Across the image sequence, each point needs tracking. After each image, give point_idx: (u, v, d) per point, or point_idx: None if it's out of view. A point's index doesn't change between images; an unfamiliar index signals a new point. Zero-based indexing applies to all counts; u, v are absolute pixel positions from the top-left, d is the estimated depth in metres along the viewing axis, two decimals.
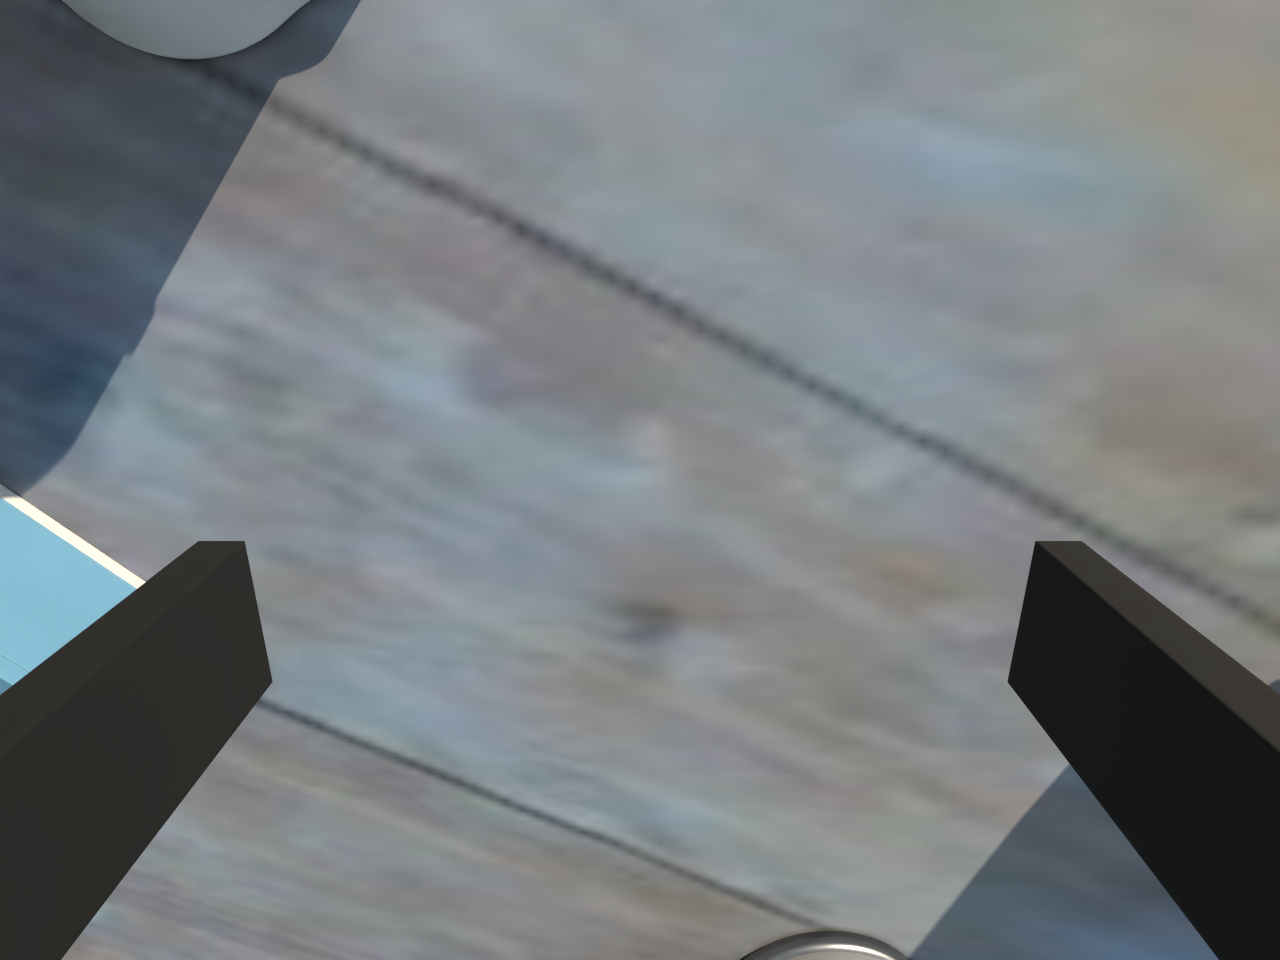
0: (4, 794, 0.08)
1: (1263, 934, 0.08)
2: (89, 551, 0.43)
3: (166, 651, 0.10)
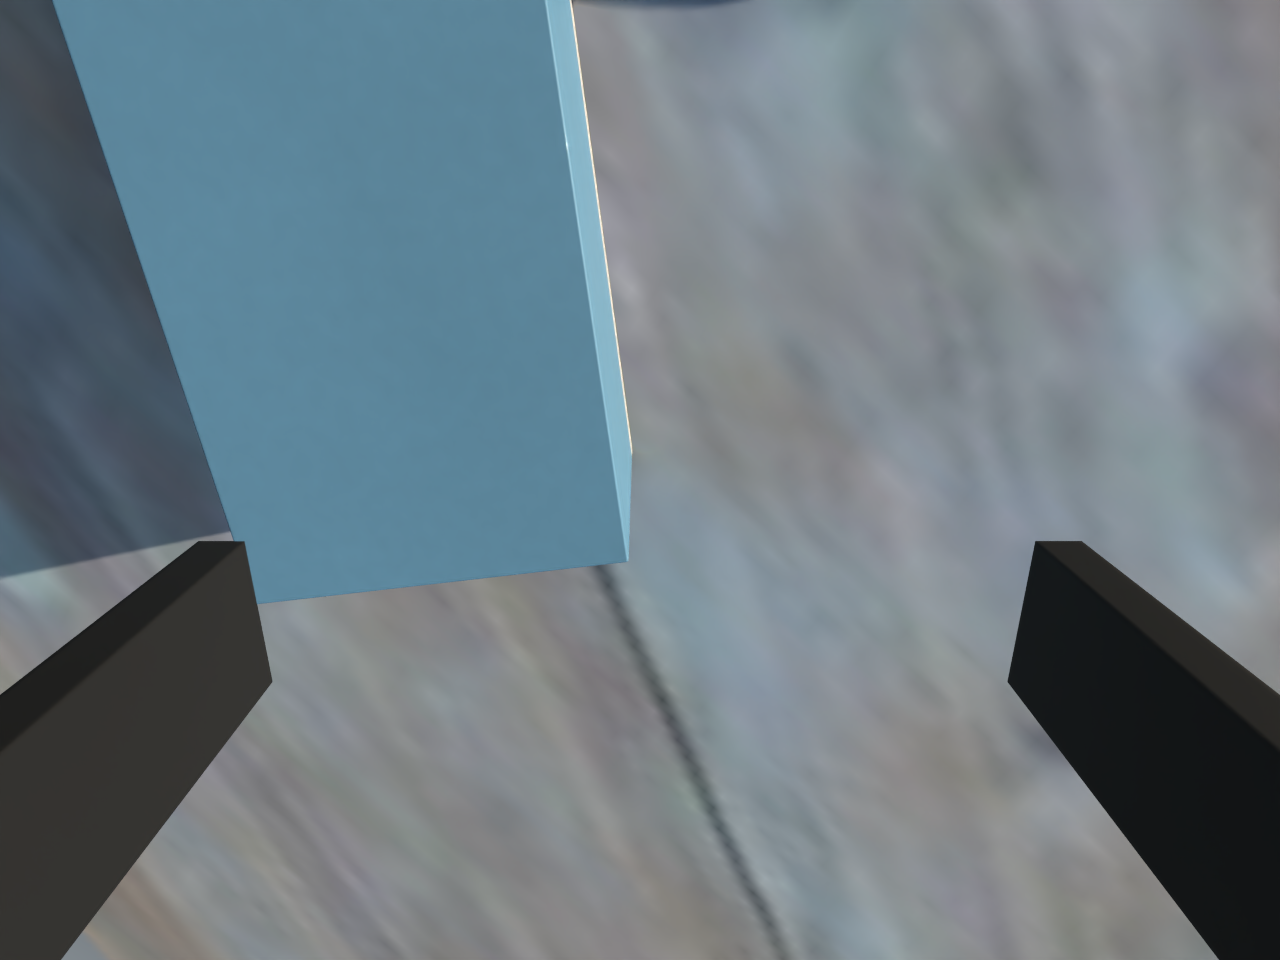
0: (3, 794, 0.08)
1: (1263, 934, 0.08)
2: (591, 153, 0.26)
3: (165, 652, 0.10)
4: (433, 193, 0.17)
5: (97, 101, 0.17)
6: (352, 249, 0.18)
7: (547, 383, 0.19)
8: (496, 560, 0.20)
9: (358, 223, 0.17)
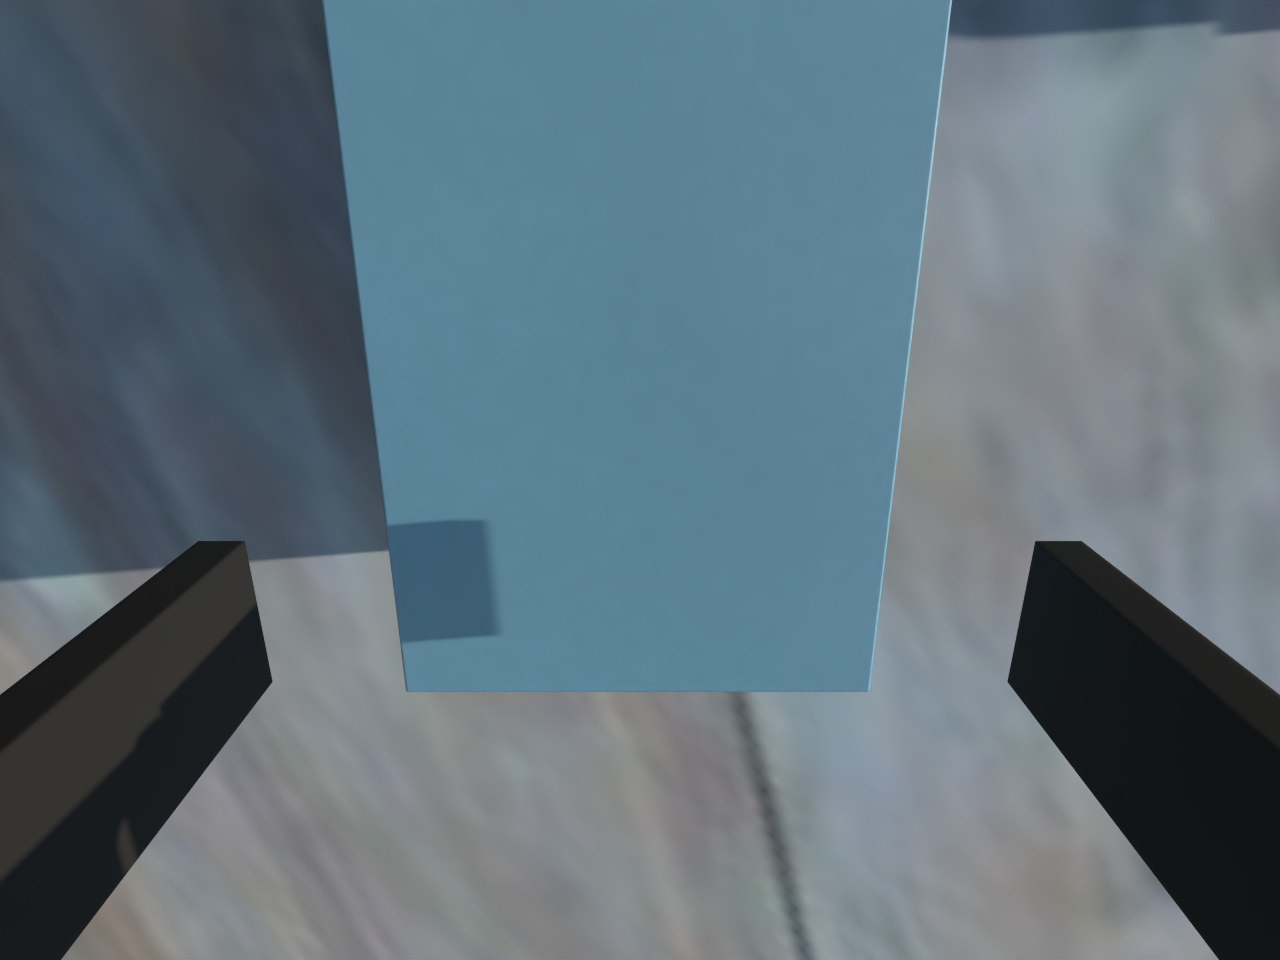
0: (4, 794, 0.08)
1: (1263, 934, 0.08)
2: None
3: (165, 651, 0.10)
4: (748, 233, 0.14)
5: (344, 59, 0.13)
6: (630, 287, 0.14)
7: (828, 477, 0.15)
8: (713, 673, 0.17)
9: (643, 257, 0.14)
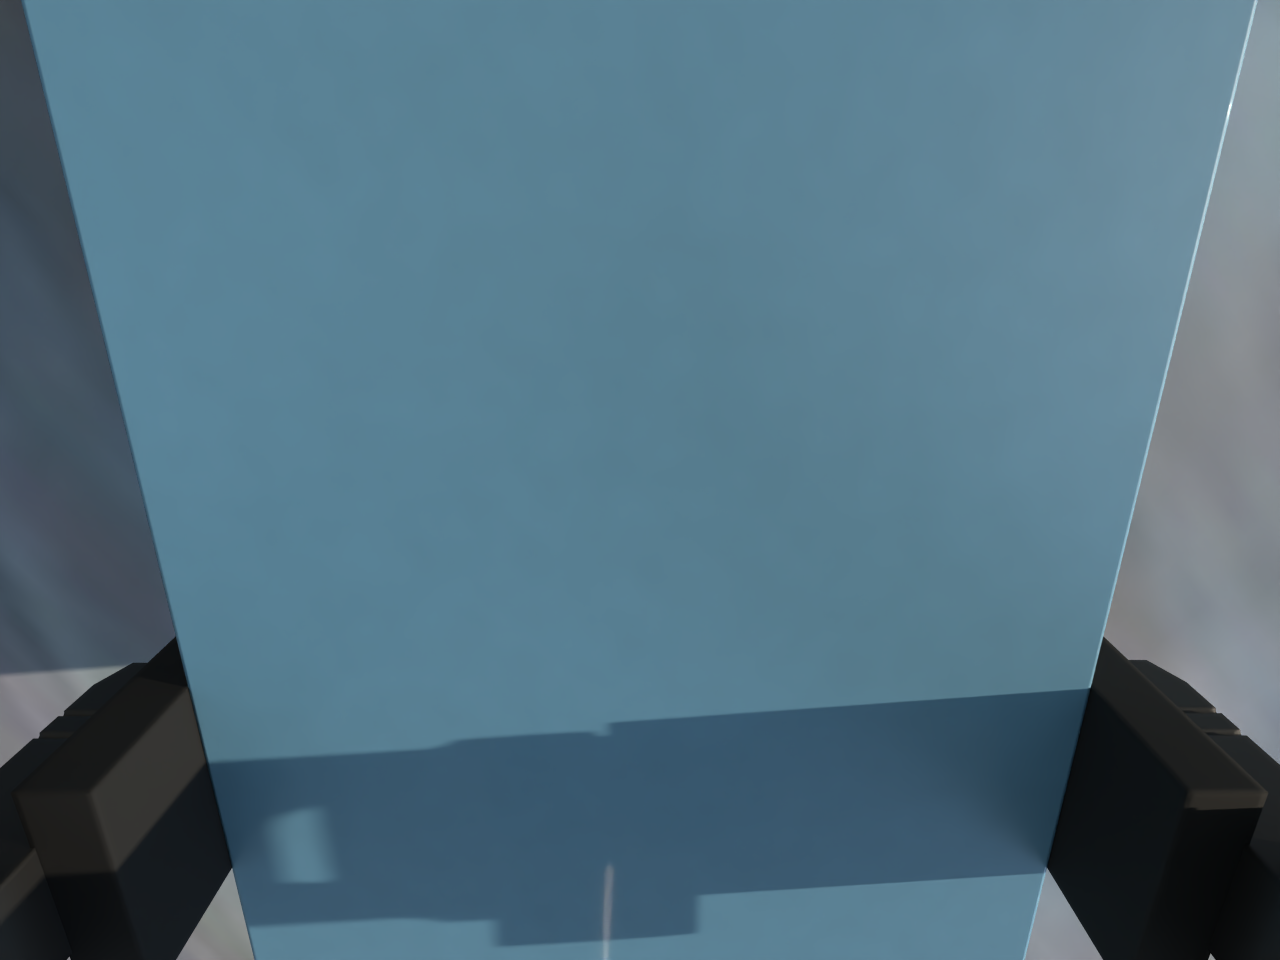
0: (182, 734, 0.09)
1: (1088, 860, 0.09)
2: None
3: None
4: (856, 238, 0.07)
5: None
6: (625, 342, 0.07)
7: (978, 669, 0.09)
8: None
9: (652, 283, 0.07)
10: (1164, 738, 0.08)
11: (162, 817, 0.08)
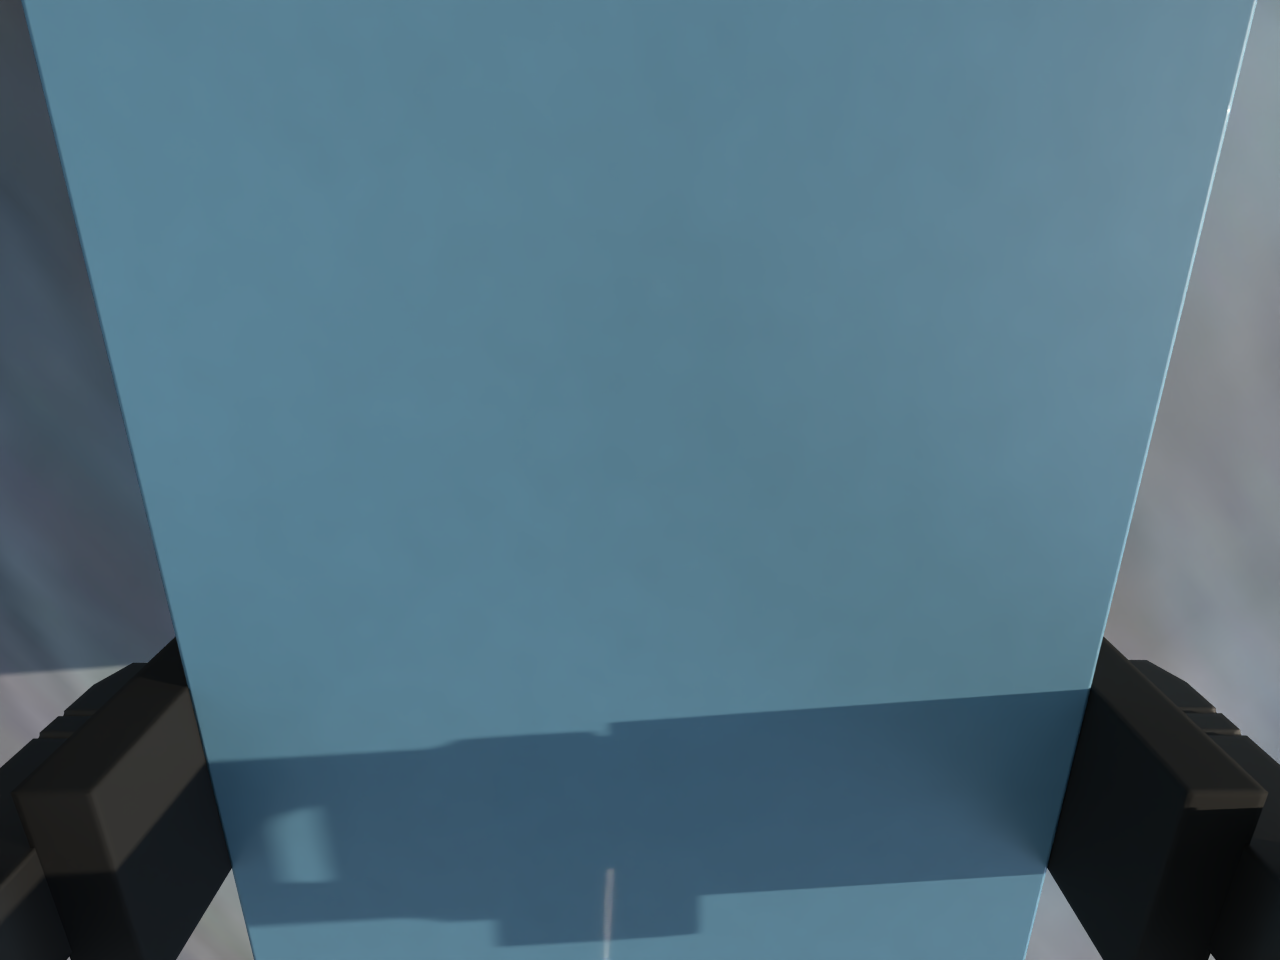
0: (182, 734, 0.09)
1: (1088, 860, 0.09)
2: None
3: None
4: (856, 237, 0.07)
5: None
6: (625, 342, 0.07)
7: (977, 669, 0.09)
8: None
9: (651, 283, 0.07)
10: (1164, 738, 0.08)
11: (162, 817, 0.08)
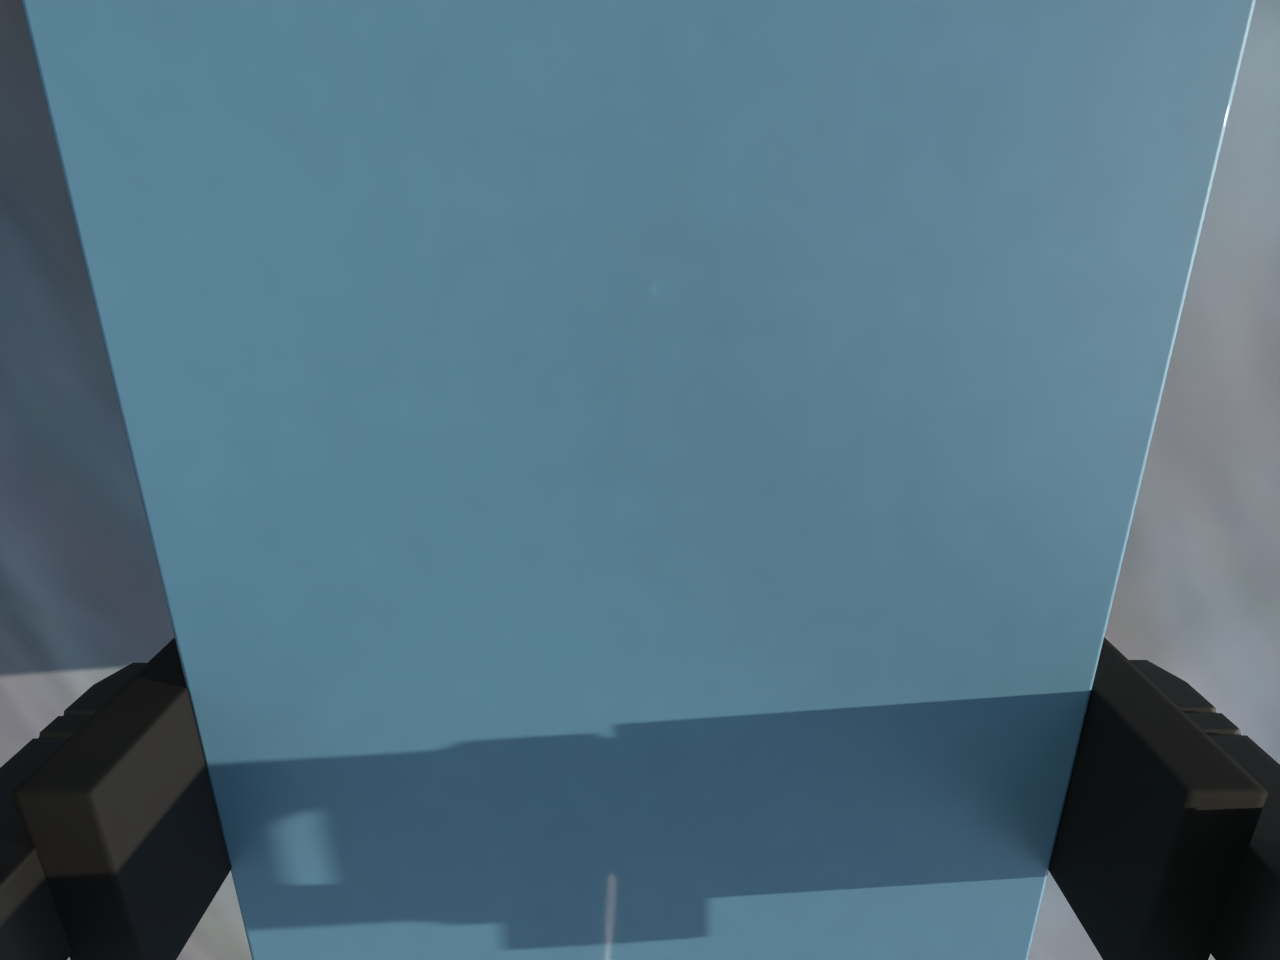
0: (182, 734, 0.09)
1: (1088, 860, 0.09)
2: None
3: None
4: (855, 234, 0.07)
5: None
6: (624, 339, 0.07)
7: (978, 669, 0.09)
8: None
9: (650, 280, 0.07)
10: (1164, 738, 0.08)
11: (162, 817, 0.08)
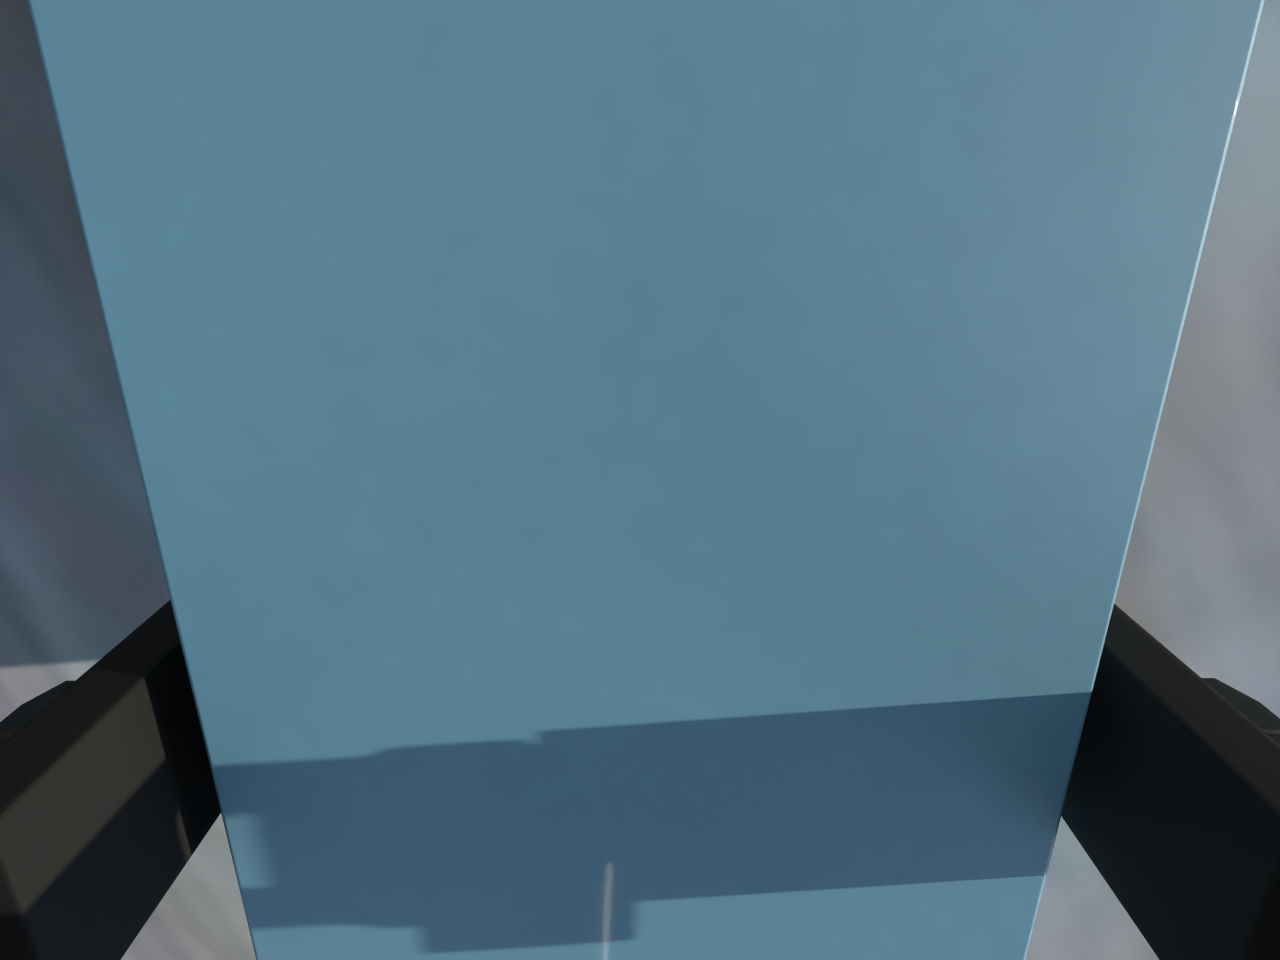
0: (103, 759, 0.08)
1: (1166, 891, 0.08)
2: None
3: None
4: (864, 209, 0.07)
5: None
6: (630, 316, 0.07)
7: (984, 651, 0.08)
8: (766, 947, 0.10)
9: (657, 255, 0.07)
10: (1255, 766, 0.07)
11: (78, 847, 0.08)
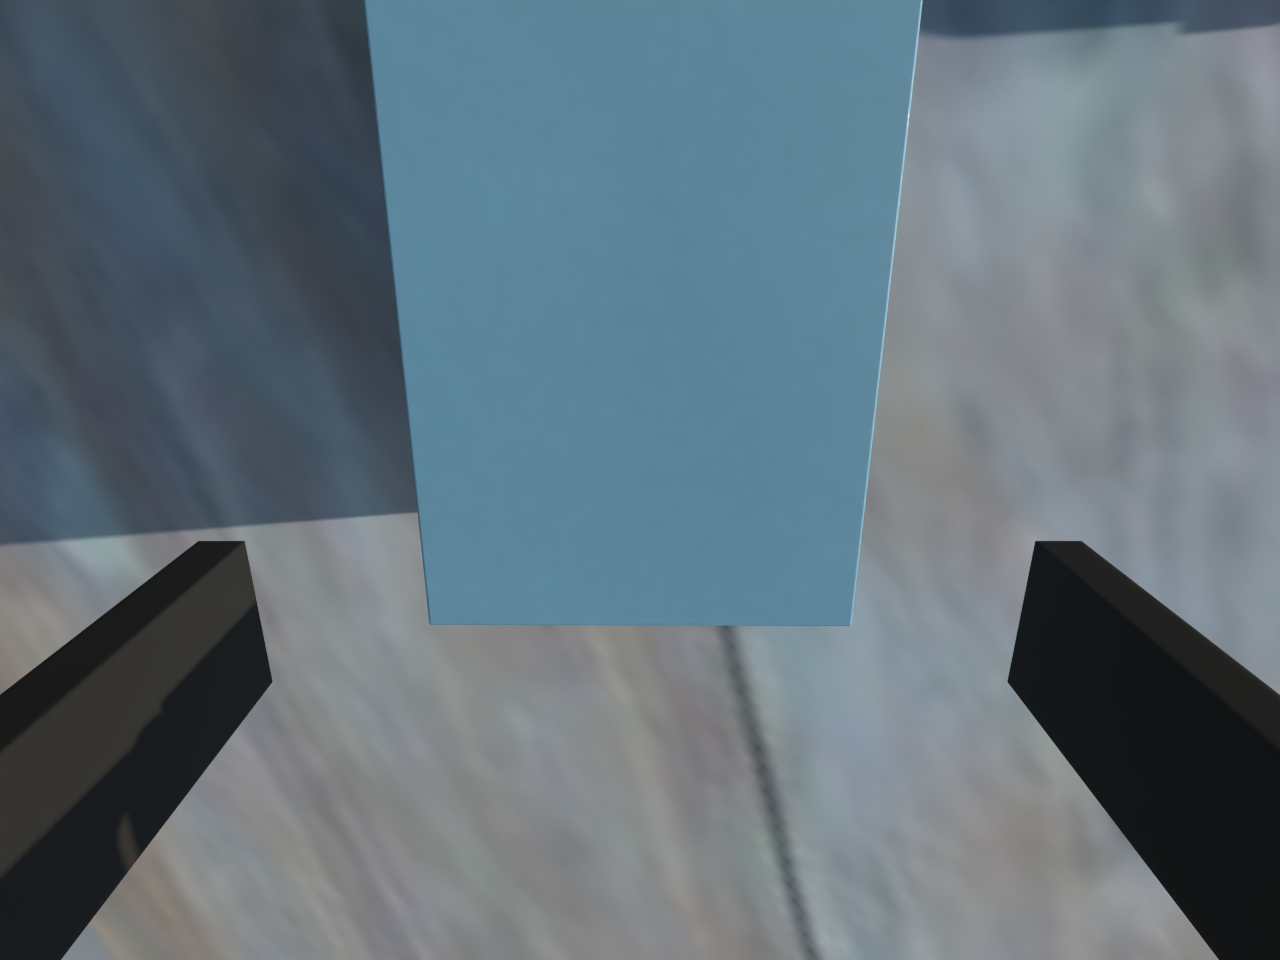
0: (3, 794, 0.08)
1: (1263, 934, 0.08)
2: None
3: (165, 652, 0.10)
4: (741, 202, 0.15)
5: (382, 44, 0.14)
6: (635, 252, 0.16)
7: (813, 426, 0.17)
8: (709, 608, 0.18)
9: (648, 223, 0.15)
10: None
11: None
